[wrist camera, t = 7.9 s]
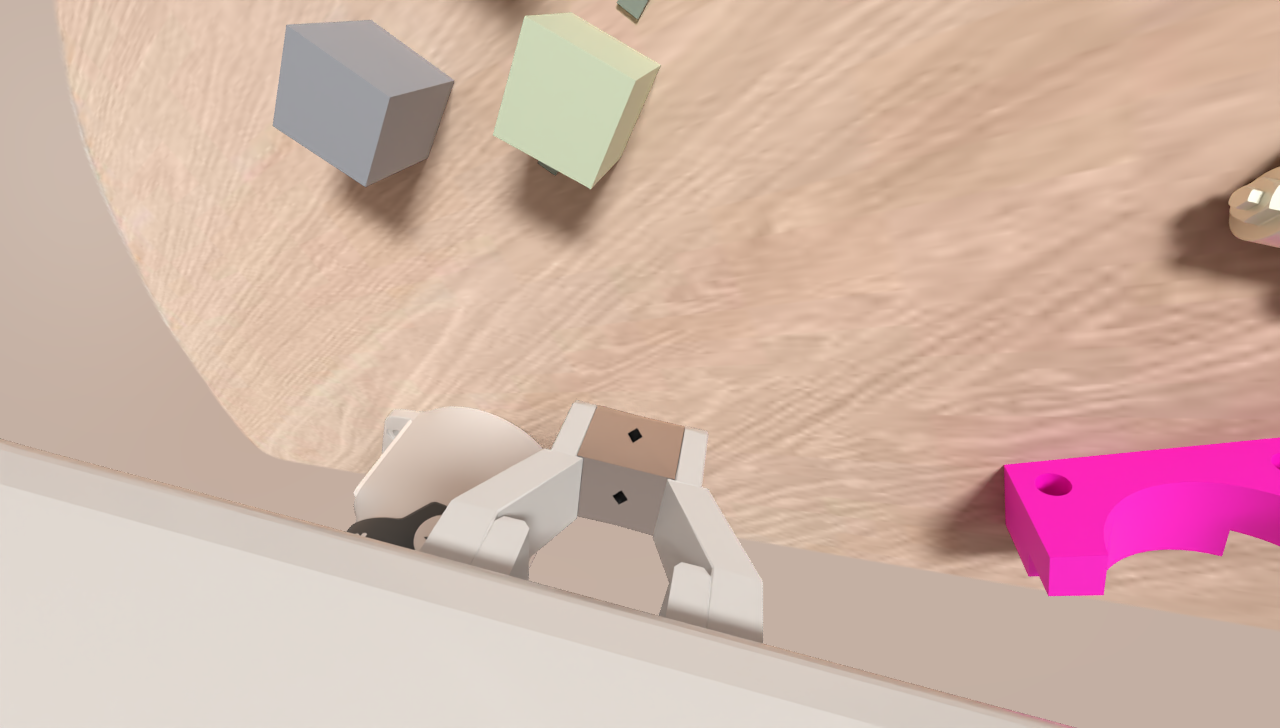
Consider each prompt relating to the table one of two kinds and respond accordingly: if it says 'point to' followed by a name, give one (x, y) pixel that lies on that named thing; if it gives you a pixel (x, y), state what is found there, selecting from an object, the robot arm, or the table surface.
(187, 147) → the table surface
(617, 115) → the sage block
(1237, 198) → the pipe fitting
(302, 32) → the slate block
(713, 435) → the table surface
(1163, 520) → the magenta curved bracket
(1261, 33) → the table surface
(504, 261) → the table surface
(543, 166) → the small gray-green block
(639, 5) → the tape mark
